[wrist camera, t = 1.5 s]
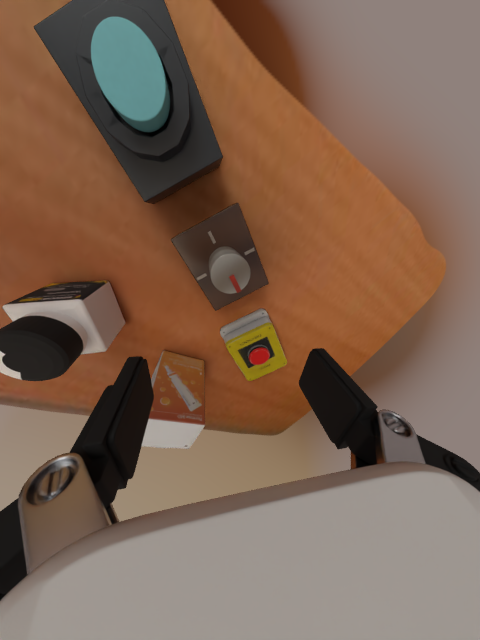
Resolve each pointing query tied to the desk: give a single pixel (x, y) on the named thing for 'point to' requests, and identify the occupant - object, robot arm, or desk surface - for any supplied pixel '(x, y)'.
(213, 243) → the rotary knob switch
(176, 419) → the small box
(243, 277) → the dial
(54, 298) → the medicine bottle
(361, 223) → the desk surface
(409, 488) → the robot arm
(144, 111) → the teal button cap
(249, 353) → the emergency button
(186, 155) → the button housing
